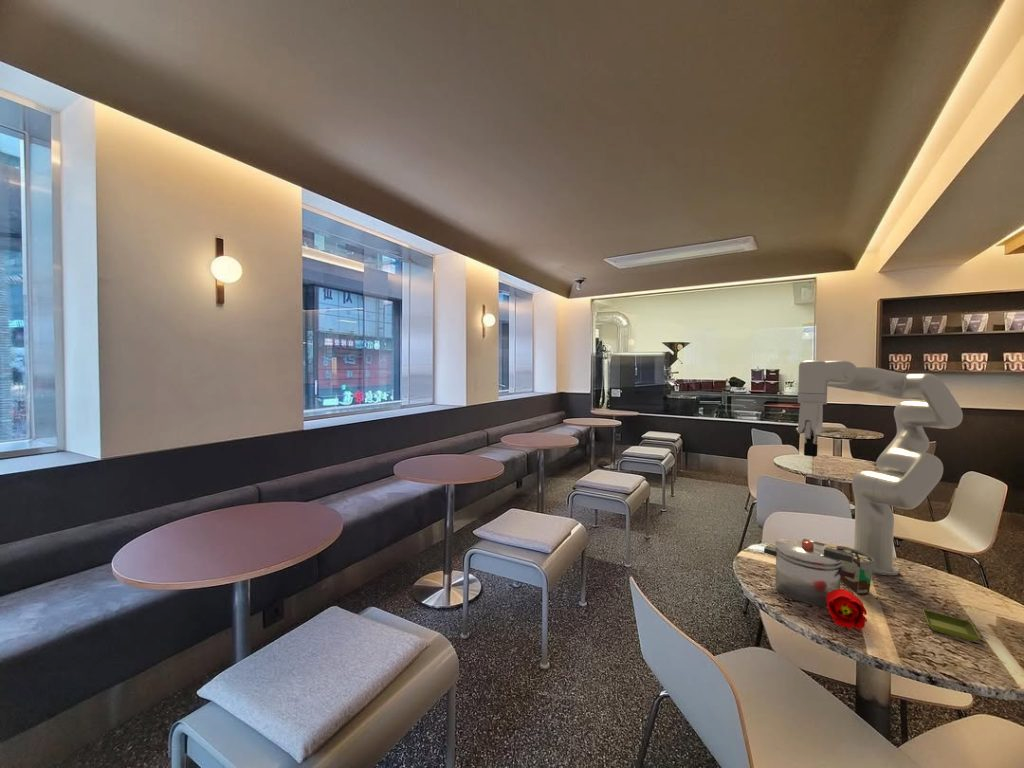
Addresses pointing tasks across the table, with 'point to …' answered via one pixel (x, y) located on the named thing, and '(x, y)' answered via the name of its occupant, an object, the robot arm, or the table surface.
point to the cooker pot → (806, 578)
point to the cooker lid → (812, 552)
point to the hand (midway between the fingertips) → (810, 455)
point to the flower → (846, 609)
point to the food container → (858, 571)
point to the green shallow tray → (951, 625)
